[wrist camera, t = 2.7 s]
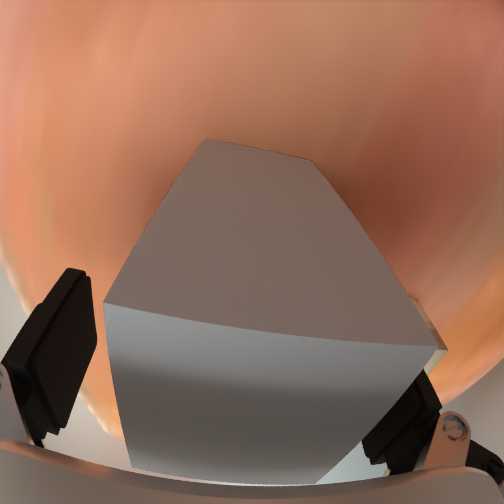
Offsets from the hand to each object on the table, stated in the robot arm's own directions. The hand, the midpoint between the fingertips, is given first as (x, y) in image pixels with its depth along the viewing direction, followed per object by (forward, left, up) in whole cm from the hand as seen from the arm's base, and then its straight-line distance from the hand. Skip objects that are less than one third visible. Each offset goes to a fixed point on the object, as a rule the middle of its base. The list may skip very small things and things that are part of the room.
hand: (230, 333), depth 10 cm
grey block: (0, 0, -10) cm, 10 cm away
